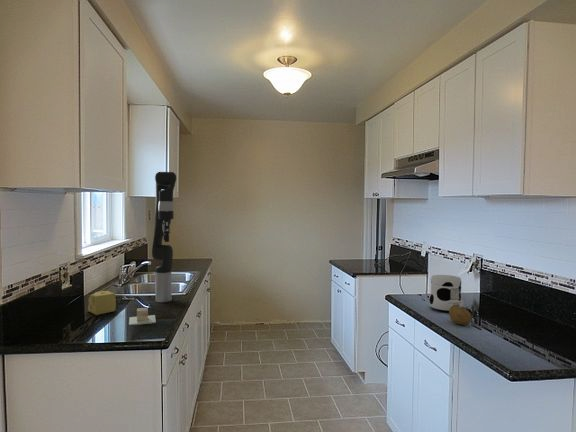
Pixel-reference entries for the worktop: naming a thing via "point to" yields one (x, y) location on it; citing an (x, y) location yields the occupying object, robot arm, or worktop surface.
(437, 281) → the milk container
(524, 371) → the worktop surface
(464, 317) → the potato
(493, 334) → the worktop surface
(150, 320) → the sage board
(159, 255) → the robot arm
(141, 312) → the oak block
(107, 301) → the cheese
